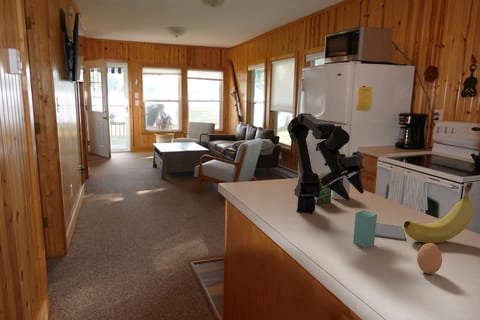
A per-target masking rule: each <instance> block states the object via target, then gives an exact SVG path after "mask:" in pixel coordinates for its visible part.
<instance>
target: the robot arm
mask: <svg viewBox="0 0 480 320" xmlns="http://www.w3.org/2000/svg"><path fill="white" fill-rule="evenodd" d="M286 128H287V129H286V130H287V133H288V135H289V138H290V139H291V140H292V141H293V142H294V145H295V151H296V157H297V162H298V167H299V173H300V174H299V175H300V176H299V177H298V180H297V185H296V186H295V188H294V190H293V191H294V196H296V197H297V206H296V207H297V208H296V211H295V212H297V213H301V214H302V213H305V214H310V215H313V213H314V212H315V210H316V205H317V204H316V200H314V199H315V197H319V193H320V189H321V185H320V182H321V184H322V186H326V185H328V184H329V185H328V186H326V188H329V189H331V191H332V190H333V191H334V192H336V193H337V194H339V195H340V196H341V197H343V198H344V199H346V200H345V201H349V200H350V199H351V198H350V195H349V196H348V193H347V191H346V189H345V187H344V185H343V178H340V177H343V176H346V177H349V178H347V180H348V181H349V182H350V185H352V186H353V187H354V188H355V190H357V191H358V193H360V194H364V193H365V190H364V186H363V182H362V174H363V172H364V169H365V166H364V165H363V159H364V156H363V154H362V153H361V152H360V151H358V150H357V151H354V152H352V153H351V155H349V156H346V154H345V153H341V152H340V150H341V149H343V148H344V146H346V145H347V144H348V143H349V141H350V139H351V138H350V137H351V136H350V134H349V133H348V131H346V130H345V129H343V128H342V125H335V124H334V123H332V122H325V121H322V120H320V119H319V118H317V117H315V116H314V115H313V114H312V113H307V112H304V113H303V112H301V113H299V114H298V115H297V116H296V117H294V118H293V119H291V120H290V121H289V123H288V124H287V127H286ZM309 131H311V135H312V137H314V139H315V140H322V141H320V142H317V143H316V145H315V151H316V152H318V151H319V153H320V154H321V156H322V158H323V159H324V163H323V165H324V167H328V168H329V170H330V172H329V173H328V172H327V173H328V174H327V175H325V176H323V177H322V178H321V181H319V177H318V174H319V173H318V172H316V173H314V171H313V167H312V163H311V158H310V153H309V148H308V143H307V142H308V141H307V137H308V136H309V134H310V133H309Z"/></svg>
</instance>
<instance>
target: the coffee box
mask: <svg viewBox="0 0 480 320" xmlns="http://www.w3.org/2000/svg"><path fill="white" fill-rule="evenodd" d="M328 173H330V172H323V173H317V174H318V177H319V181H321V178H322V177H323V176H325V175H327V174H328ZM320 185H321V189H320V193H319V197H315V199H314V200H316V205H321V204H327V203H331V202H332V195H331V192H332V190H331V189H329V188H326V186H328V185H329V184H328V185H326V186H322V184H321V182H320Z"/></svg>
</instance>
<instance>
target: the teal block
mask: <svg viewBox="0 0 480 320" xmlns="http://www.w3.org/2000/svg"><path fill="white" fill-rule="evenodd" d="M354 219H355V220H354V230H353V242H352V243H353V244H354V245H357V246H358V247H359V246H360V247H362V248H364V249H367V248H369V247H372V246H374V245H375V238H376V236H375V231H376V223H377V221H378V220H377V219H378V214H376V213H374V212H370V211H367V210H362V211H358V212H356V213H355V218H354Z"/></svg>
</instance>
